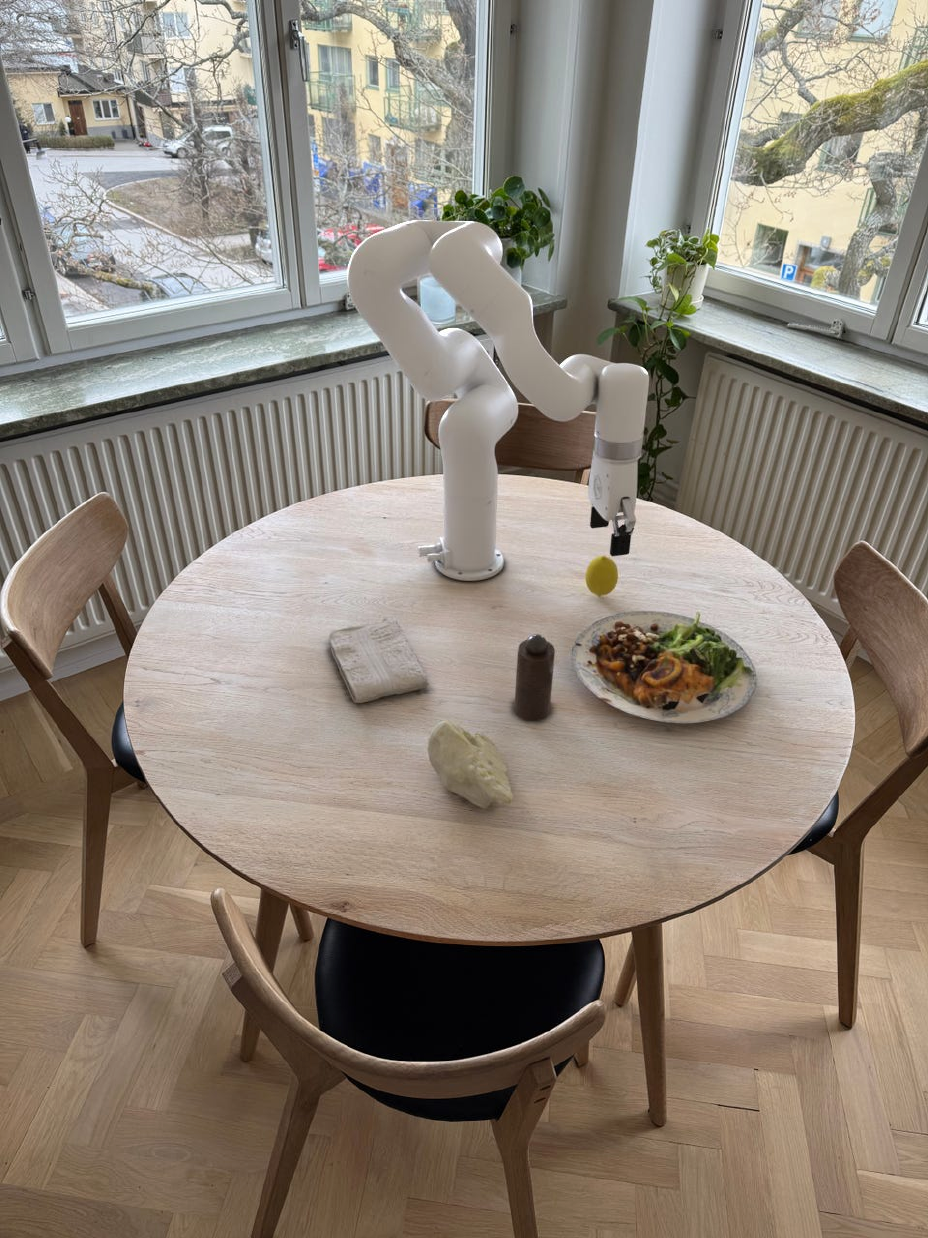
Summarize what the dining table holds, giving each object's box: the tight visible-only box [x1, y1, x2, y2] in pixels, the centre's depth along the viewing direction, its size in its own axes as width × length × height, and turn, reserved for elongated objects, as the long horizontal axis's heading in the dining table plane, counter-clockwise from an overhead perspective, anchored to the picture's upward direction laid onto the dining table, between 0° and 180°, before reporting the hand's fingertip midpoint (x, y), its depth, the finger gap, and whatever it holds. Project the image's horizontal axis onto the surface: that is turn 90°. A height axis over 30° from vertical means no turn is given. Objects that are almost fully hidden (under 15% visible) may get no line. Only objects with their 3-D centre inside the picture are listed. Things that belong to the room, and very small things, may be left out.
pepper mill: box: [514, 633, 556, 722], centre depth 129 cm, size 5×5×13 cm
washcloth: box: [328, 618, 430, 704], centre depth 140 cm, size 12×18×3 cm, turn 22°
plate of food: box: [571, 610, 758, 724], centre depth 138 cm, size 28×28×6 cm
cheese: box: [427, 719, 515, 810], centre depth 117 cm, size 15×7×15 cm
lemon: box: [584, 555, 619, 597], centre depth 156 cm, size 6×6×8 cm
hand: (608, 540), depth 151 cm, fingers open, 9 cm apart
